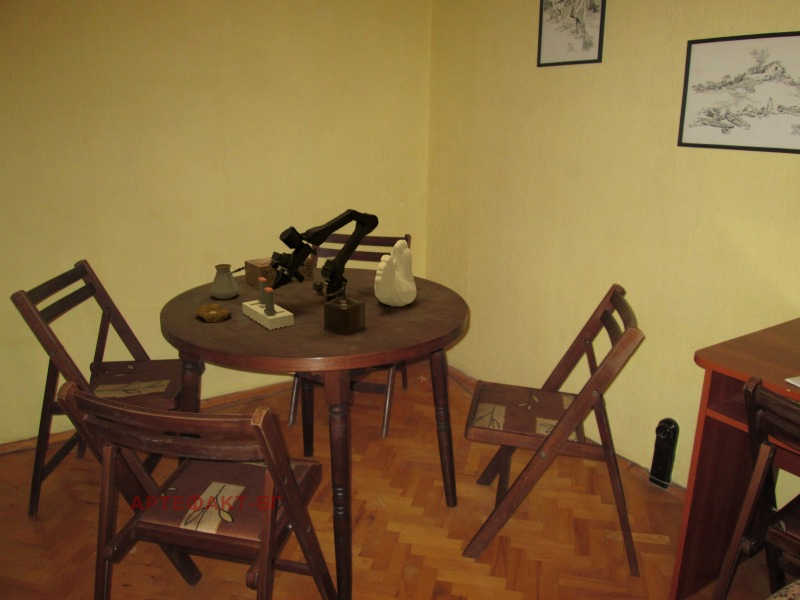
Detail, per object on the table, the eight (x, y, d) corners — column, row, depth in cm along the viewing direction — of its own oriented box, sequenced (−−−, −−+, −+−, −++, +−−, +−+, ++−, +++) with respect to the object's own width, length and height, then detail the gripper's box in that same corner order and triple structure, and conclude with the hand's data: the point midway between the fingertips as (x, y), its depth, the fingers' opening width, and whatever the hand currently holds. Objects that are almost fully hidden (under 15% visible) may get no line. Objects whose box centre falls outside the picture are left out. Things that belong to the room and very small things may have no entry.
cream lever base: (265, 308, 230) (264, 297, 229) (293, 324, 213) (293, 313, 212) (242, 313, 225) (242, 302, 224) (269, 330, 208) (269, 318, 206)
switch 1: (265, 299, 226) (263, 276, 224) (269, 301, 224) (268, 279, 221) (257, 300, 225) (256, 278, 222) (262, 303, 222) (260, 280, 219)
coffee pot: (204, 297, 245) (201, 260, 240) (228, 291, 253) (226, 256, 249) (237, 307, 232) (234, 269, 228) (261, 300, 240) (259, 263, 236)
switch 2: (271, 310, 213) (270, 286, 211) (276, 313, 211) (275, 289, 208) (263, 312, 212) (262, 288, 209) (268, 315, 209) (267, 290, 206)
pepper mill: (342, 321, 217) (341, 272, 212) (366, 327, 211) (365, 277, 205) (311, 333, 205) (309, 281, 200) (335, 340, 199) (334, 287, 194)
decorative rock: (188, 316, 223) (208, 328, 213) (187, 306, 221) (207, 317, 211) (216, 308, 230) (237, 319, 220) (215, 298, 229) (236, 308, 219)
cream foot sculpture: (393, 294, 250) (394, 234, 242) (425, 301, 241) (426, 239, 233) (353, 309, 231) (352, 244, 223) (385, 317, 221) (385, 250, 214)
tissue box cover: (297, 274, 282) (296, 253, 279) (313, 280, 272) (313, 258, 269) (245, 283, 267) (244, 260, 264) (261, 290, 256) (259, 267, 253)
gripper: (272, 239, 231) (246, 271, 227) (296, 247, 216) (268, 281, 213) (292, 257, 238) (267, 288, 234) (315, 266, 223) (289, 300, 220)
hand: (272, 289), depth 225 cm, fingers closed
